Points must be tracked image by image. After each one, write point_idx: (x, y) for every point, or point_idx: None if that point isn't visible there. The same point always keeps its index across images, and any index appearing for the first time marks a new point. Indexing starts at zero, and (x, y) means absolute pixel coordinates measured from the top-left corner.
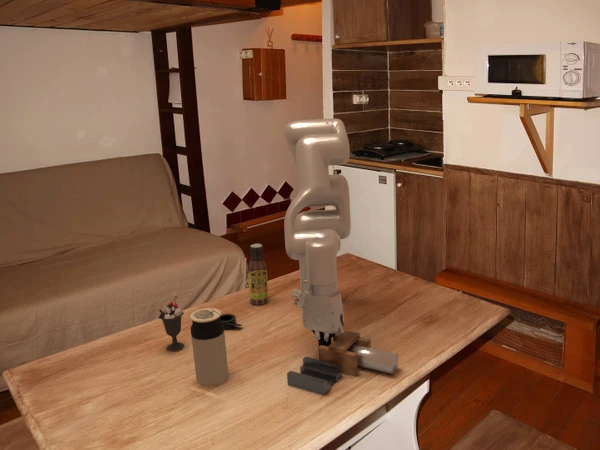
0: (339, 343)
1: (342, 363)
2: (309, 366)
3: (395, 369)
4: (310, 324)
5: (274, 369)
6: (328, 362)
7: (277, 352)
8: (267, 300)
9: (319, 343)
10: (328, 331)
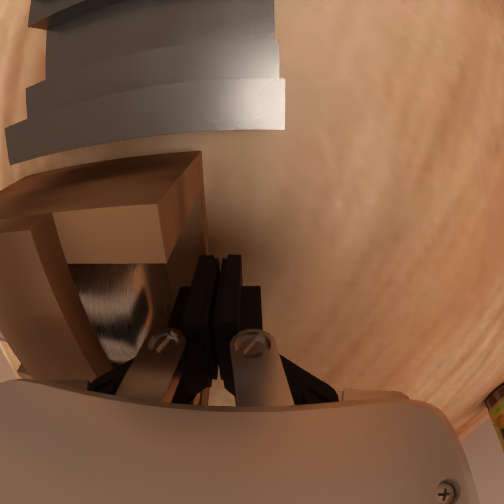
0: (22, 309)
1: (25, 191)
2: (218, 77)
3: None
4: (337, 477)
5: (434, 79)
6: (74, 142)
7: (467, 227)
8: (487, 402)
9: (234, 302)
10: (41, 401)
